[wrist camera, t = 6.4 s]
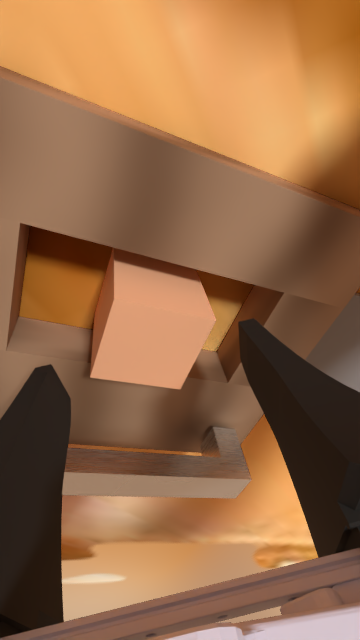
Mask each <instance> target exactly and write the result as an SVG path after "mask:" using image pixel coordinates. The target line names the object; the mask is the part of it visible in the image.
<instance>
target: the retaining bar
mask: <svg viewBox="0 0 360 640" xmlns="http://www.w3.org/2000/svg"><path fill="white" fill-rule="evenodd" d="M200 448H201V453H202V456H190V455H175V454H159V453H143V452H128V451H112V450H96V449H81V448H68V450H67V457H66V464H65V472H64V479H63V489H62V495H79V496H132V497H185V498H236V497H237V496H238V495H239V494H240V493H241V492H242V490H243V489H244V488H245V487H246V486H247V485H248V483H249V482H250V481H251V480H252V479H251V476H250V473H249V470H248V467H247V464H246V461H245V458H244V455H243V452H242V449H241V446H240V443H239V440H238V437H237V434H236V431H235V429H234V428H223V427H212V428H211V430H210V431H209V433H208V434H207V436H206V438H205V439H204V441H203V442H202V444H201V445H200Z"/></svg>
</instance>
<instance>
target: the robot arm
mask: <svg viewBox="0 0 360 640" xmlns="http://www.w3.org/2000/svg"><path fill="white" fill-rule="evenodd" d="M238 329H239V345H240V360H241V363H242V366H243V369H244V371H245V374H246V377H247V380H248V382H249V384H250V386H251V388H252V391H253V393H254V395H255V397H256V399H257V401H258V403H259V405H260V407H261V409H262V411H263V413H264V415H265V417H266V419H267V421H268V423H269V424H270V426H271V428H272V430H273V433H274V435H275V437H276V439H277V442H278V444H279V447H280V449H281V452H282V455H283V457H284V460H285V463H286V465H287V468H288V471H289V473H290V476H291V479H292V481H293V484H294V487H295V490H296V492H297V495H298V498H299V501H300V504H301V507H302V510H303V512H304V515H305V518H306V521H307V524H308V527H309V530H310V533H311V536H312V539H313V542H314V545H315V548H316V551H317V554H318V557H319V558H316V559H312V560H308V561H304V562H300V563H296V564H292V565H288V566H284V567H280V568H276V569H272V570H268V571H265V572H261V573H257V574H253V575H249V576H245V577H241V578H237V579H233V580H229V581H225V582H221V583H217V584H213V585H209V586H206V587H201V588H197V589H193V590H190V591H185V592H181V593H178V594H173V595H169V596H165V597H161V598H158V599H153V600H149V601H146V602H142V603H138V604H134V605H130V606H126V607H122V608H118V609H114V610H110V611H106V612H102V613H98V614H94V615H90V616H86V617H82V618H78V619H74V620H70V621H66V622H64V620H63V602H62V574H61V513H62V489H63V479H64V472H65V464H66V457H67V450H68V443H69V435H70V427H71V398H70V396H69V395H68V393H67V391H66V389H65V387H64V386H63V384H62V382H61V380H60V378H59V377H58V375H57V373H56V371H55V370H54V368H53V366H52V364H50V365H45V366H41V367H36V368H35V369H34V370H33V372H32V373H31V375H30V376H29V378H28V379H27V381H26V382H25V384H24V385H23V387H22V388H21V390H20V391H19V393H18V395H17V396H16V398H15V399H14V401H13V402H12V403H11V405H10V406H9V408H8V409H7V411H6V412H5V414H4V415H3V416H2V418H1V419H0V640H360V392H358V391H356V390H354V389H352V388H350V387H348V386H346V385H344V384H342V383H341V382H339V381H337V380H335V379H334V378H332V377H330V376H329V375H327V374H325V373H324V372H322V371H321V370H319V369H317V368H316V367H314V366H313V365H311V364H310V363H309V362H307V361H306V360H304V359H303V358H301V357H300V356H299V355H297V354H296V353H295V352H293V351H292V350H291V349H290V348H288V347H287V346H286V345H285V344H283V343H282V342H281V341H280V340H278V339H277V338H276V337H275V336H274V335H272V334H271V333H270V332H269V331H268V330H267V329H266V328H265V327H263V326H262V325H261V324H260V323H259V322H258V321H257V320H255V319H254V318H253V319H248V320H244V321H239V322H238ZM278 606H281V609H280V611H281V614H282V615H281V616H274V617H269V618H263V619H257V620H251V621H246V622H240V623H234V624H233V623H231V622H229V623H215V622H219V621H223V620H227V619H231V618H235V617H239V616H243V615H247V614H250V613H255V612H258V611H262V610H266V609H270V608H274V607H278ZM212 623H213V624H212Z"/></svg>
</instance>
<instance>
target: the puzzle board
mask: <svg viewBox="0 0 360 640" xmlns="http://www.w3.org/2000/svg"><path fill="white" fill-rule="evenodd" d="M30 226H34V227H38V228H42V229H45V230H49V231H53V232H57V233H60V234H64V235H68V236H72V237H76V238H79V239H83V240H87V241H91V242H94V243H98V244H102V245H106V246H110V247H113V248H117V249H121V250H125V251H129V252H132V253H136V254H140V255H144V256H147V257H151V258H155V259H159V260H163V261H166V262H170V263H174V264H178V265H181V266H185V267H189V268H193V269H197V270H200V271H204V272H208V273H212V274H215V275H219V276H223V277H227V278H231V279H234V280H238V281H242V282H246V283H249V284H253V285H254V286H253V288H252V290H251V292H250V294H249V295H248V297H247V299H246V301H245V303H244V304H243V306H242V308H241V310H240V311H239V313H238V315H237V317H236V319H235V320H234V322H233V324H232V326H231V328H230V329H229V331H228V333H227V335H226V337H225V338H224V340H223V342H222V344H221V346H220V347H219V349H218V351H217V352H214V351H208V350H202V349H201V351H200V353H199V355H198V356H197V358H196V360H195V362H194V364H193V366H192V368H191V370H190V372H189V374H188V376H187V378H186V379H185V381H184V383H183V385H182V387H181V389H172V388H165V387H157V386H150V385H143V384H135V383H128V382H120V381H113V380H105V379H98V378H90V372H91V358H92V344H93V330H91V329H85V328H80V327H74V326H69V325H63V324H58V323H52V322H46V321H41V320H35V319H30V318H24V317H19V311H20V303H21V295H22V287H23V279H24V271H25V263H26V255H27V247H28V239H29V231H30ZM359 288H360V210H359V209H357V208H354V207H352V206H349V205H347V204H344V203H342V202H339V201H337V200H334V199H332V198H329V197H327V196H324V195H322V194H319V193H317V192H314V191H311V190H309V189H306V188H304V187H301V186H299V185H296V184H294V183H291V182H289V181H286V180H284V179H281V178H279V177H276V176H274V175H271V174H269V173H266V172H264V171H261V170H259V169H256V168H254V167H251V166H249V165H246V164H244V163H241V162H239V161H236V160H234V159H231V158H229V157H226V156H224V155H221V154H219V153H216V152H214V151H211V150H209V149H206V148H204V147H201V146H199V145H196V144H194V143H191V142H189V141H186V140H184V139H181V138H179V137H176V136H174V135H171V134H169V133H166V132H164V131H161V130H159V129H156V128H154V127H151V126H149V125H146V124H144V123H141V122H139V121H136V120H134V119H131V118H129V117H126V116H124V115H121V114H119V113H116V112H114V111H111V110H108V109H106V108H103V107H101V106H98V105H96V104H93V103H91V102H88V101H86V100H83V99H81V98H78V97H76V96H73V95H71V94H68V93H66V92H63V91H61V90H58V89H56V88H53V87H51V86H48V85H46V84H43V83H41V82H38V81H36V80H33V79H31V78H28V77H26V76H23V75H21V74H18V73H16V72H13V71H11V70H8V69H6V68H3V67H1V66H0V419H1V418H2V416H3V415H4V414H5V412H6V411H7V409H8V408H9V406H10V405H11V403H12V402H13V401H14V399H15V398H16V396H17V395H18V393H19V391H20V390H21V388H22V387H23V385H24V384H25V382H26V381H27V379H28V378H29V376H30V375H31V373H32V372H33V370H34V369H35V368H36V367H41V366H45V365H50V364H52V366H53V368H54V370H55V371H56V373H57V375H58V377H59V378H60V380H61V382H62V384H63V386H64V387H65V389H66V391H67V393H68V395H69V396H70V398H71V427H70V435H69V443H68V444H80V445H95V446H110V447H124V448H139V449H154V450H169V451H183V452H198V453H201V448H200V445H201V444H202V442H203V441H204V439H205V438H206V436H207V434H208V433H209V431H210V430H211V428H212V427H223V428H234V429H235V431H236V434H237V437H238V440H239V443H240V445H241V443H242V442H243V441H244V439H245V438H246V437H247V435H248V434H249V433H250V431H251V430H252V429H253V427H254V426H255V425H256V423H257V422H258V421H259V420H260V418H261V417H262V416H263V414H264V413H263V411H262V409H261V407H260V405H259V403H258V401H257V399H256V397H255V395H254V393H253V391H252V388H251V386H250V384H249V382H248V380H247V377H246V374H245V371H244V369H243V366H242V363H241V360H240V345H239V329H238V322H239V321H244V320H248V319H253V318H254V319H255V320H257V321H258V322H259V323H260V324H261V325H262V326H263V327H265V328H266V329H267V330H268V331H269V332H270V333H271V334H272V335H274V336H275V337H276V338H277V339H278V340H280V341H281V342H282V343H283V344H285V345H286V346H287V347H288V348H290V349H291V350H292V351H293V352H295V353H296V354H297V355H299V356H300V357H301V358H303V359H304V360H305V359H306V358H307V356H308V355H309V354H310V352H311V351H312V350H313V348H314V347H315V346H316V344H317V343H318V342H319V341H320V339H321V338H322V337H323V335H324V334H325V333H326V331H327V330H328V329H329V327H330V326H331V325H332V323H333V322H334V321H335V319H336V318H337V317H338V316H339V314H340V313H341V312H342V310H343V309H344V308H345V306H346V305H347V304H348V302H349V301H350V300H351V298H352V297H353V296H354V294H355V293H356V292H357V290H358V289H359Z"/></svg>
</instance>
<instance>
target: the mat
mask: <svg viewBox="0 0 360 640" xmlns="http://www.w3.org/2000/svg"><path fill="white" fill-rule="evenodd" d="M305 360H306V361H307V362H309V363H310V364H311V365H313V366H314V367H316V368H317V369H319V370H321V371H322V372H324V373H325V374H327V375H329V376H330V377H332V378H334V379H335V380H337V381H339V382H341V383H342V384H344V385H346V386H348V387H350V388H352V389H354V390H356V391H358V392H360V294H359V293H355V294H354V296H353V297H352V298H351V300H350V301H349V302H348V304H347V305H346V306H345V308H344V309H343V310H342V312H341V313H340V314H339V316H338V317H337V318H336V319H335V321H334V322H333V323H332V325H331V326H330V327H329V329H328V330H327V331H326V333H325V334H324V335H323V337H322V338H321V339H320V341H319V342H318V343H317V344H316V346H315V347H314V348H313V350H312V351H311V352H310V354H309V355H308V356H307V358H306V359H305Z"/></svg>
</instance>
